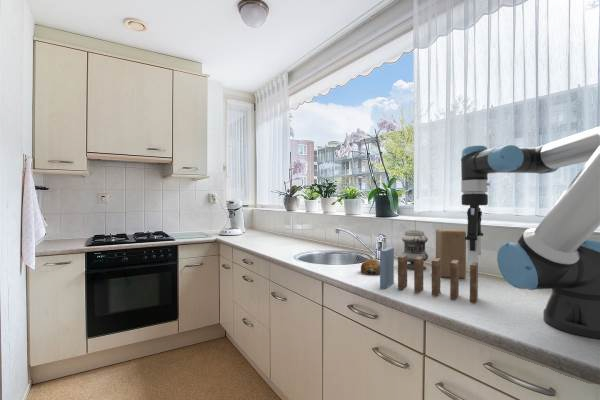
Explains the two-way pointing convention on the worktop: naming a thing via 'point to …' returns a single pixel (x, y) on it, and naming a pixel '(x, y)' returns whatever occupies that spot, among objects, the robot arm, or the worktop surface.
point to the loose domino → (473, 282)
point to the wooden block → (451, 250)
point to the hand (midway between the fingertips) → (474, 257)
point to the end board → (386, 267)
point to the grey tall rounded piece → (414, 246)
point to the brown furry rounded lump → (371, 267)
